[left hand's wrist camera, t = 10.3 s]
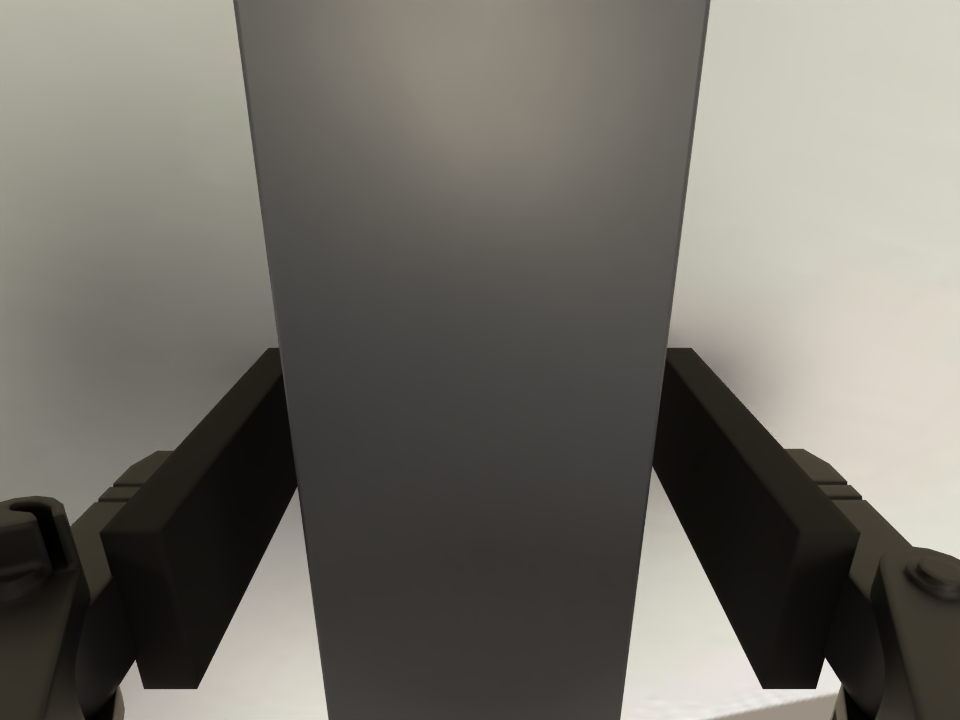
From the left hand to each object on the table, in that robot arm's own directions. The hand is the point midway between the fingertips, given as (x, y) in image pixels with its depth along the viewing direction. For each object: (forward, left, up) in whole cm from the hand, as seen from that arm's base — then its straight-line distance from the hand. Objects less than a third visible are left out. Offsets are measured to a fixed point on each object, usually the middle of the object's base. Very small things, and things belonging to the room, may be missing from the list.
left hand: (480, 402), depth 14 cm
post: (+10, +32, -3) cm, 34 cm away
